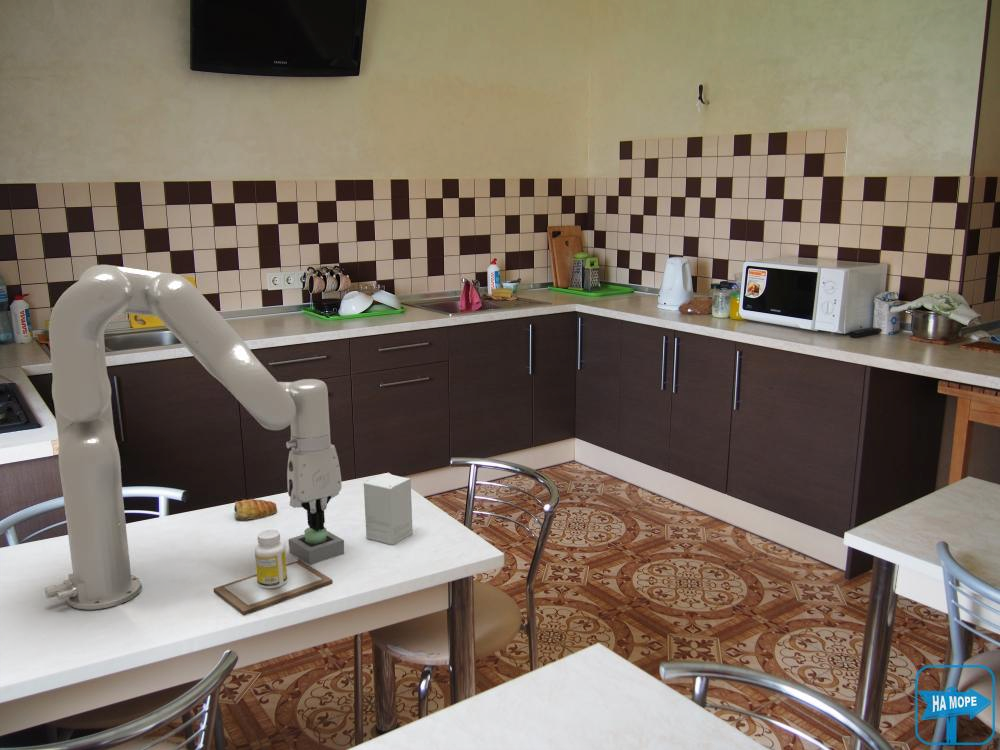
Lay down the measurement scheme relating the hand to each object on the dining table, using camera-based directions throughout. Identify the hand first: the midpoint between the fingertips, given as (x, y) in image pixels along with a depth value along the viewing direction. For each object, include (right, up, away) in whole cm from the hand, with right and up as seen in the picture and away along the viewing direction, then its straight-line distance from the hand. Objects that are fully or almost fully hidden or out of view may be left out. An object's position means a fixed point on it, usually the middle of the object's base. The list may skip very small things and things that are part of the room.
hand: (316, 528), depth 174 cm
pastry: (-19, -1, +22) cm, 29 cm away
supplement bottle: (-5, -8, -14) cm, 17 cm away
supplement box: (+14, -4, +10) cm, 17 cm away
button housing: (0, -5, +1) cm, 5 cm away
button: (0, -2, 0) cm, 2 cm away
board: (-5, -9, -14) cm, 17 cm away
